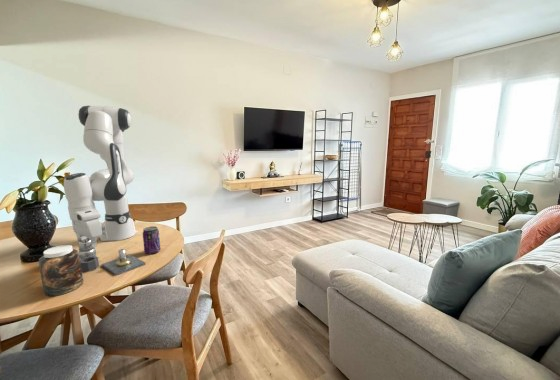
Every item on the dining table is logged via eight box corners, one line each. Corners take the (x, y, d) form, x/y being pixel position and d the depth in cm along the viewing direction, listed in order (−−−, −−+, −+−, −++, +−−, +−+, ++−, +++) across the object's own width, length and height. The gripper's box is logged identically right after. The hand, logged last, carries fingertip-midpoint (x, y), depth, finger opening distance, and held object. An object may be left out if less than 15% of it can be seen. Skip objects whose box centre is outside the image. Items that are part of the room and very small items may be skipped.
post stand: (101, 266, 115) (99, 250, 114) (130, 256, 125) (129, 242, 123) (115, 275, 107) (113, 259, 106) (145, 264, 116) (143, 249, 115)
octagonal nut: (77, 269, 113) (76, 260, 112) (95, 263, 118) (94, 255, 117) (83, 273, 109) (81, 264, 108) (100, 267, 114) (99, 258, 113)
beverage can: (154, 255, 126) (151, 231, 124) (141, 254, 127) (138, 230, 125) (163, 249, 133) (161, 226, 131) (151, 248, 134) (148, 225, 132)
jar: (38, 290, 97) (31, 251, 94) (75, 276, 107) (70, 241, 104) (51, 299, 91) (44, 258, 88) (89, 284, 101) (84, 247, 98)
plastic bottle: (86, 263, 118) (79, 220, 114) (75, 261, 120) (69, 218, 117) (100, 257, 124) (94, 216, 120) (90, 255, 126) (84, 214, 123)
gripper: (64, 212, 112) (71, 243, 115) (83, 217, 100) (90, 252, 103) (82, 209, 117) (88, 238, 120) (102, 213, 105) (108, 246, 108)
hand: (89, 245), depth 111 cm, fingers open, 8 cm apart
